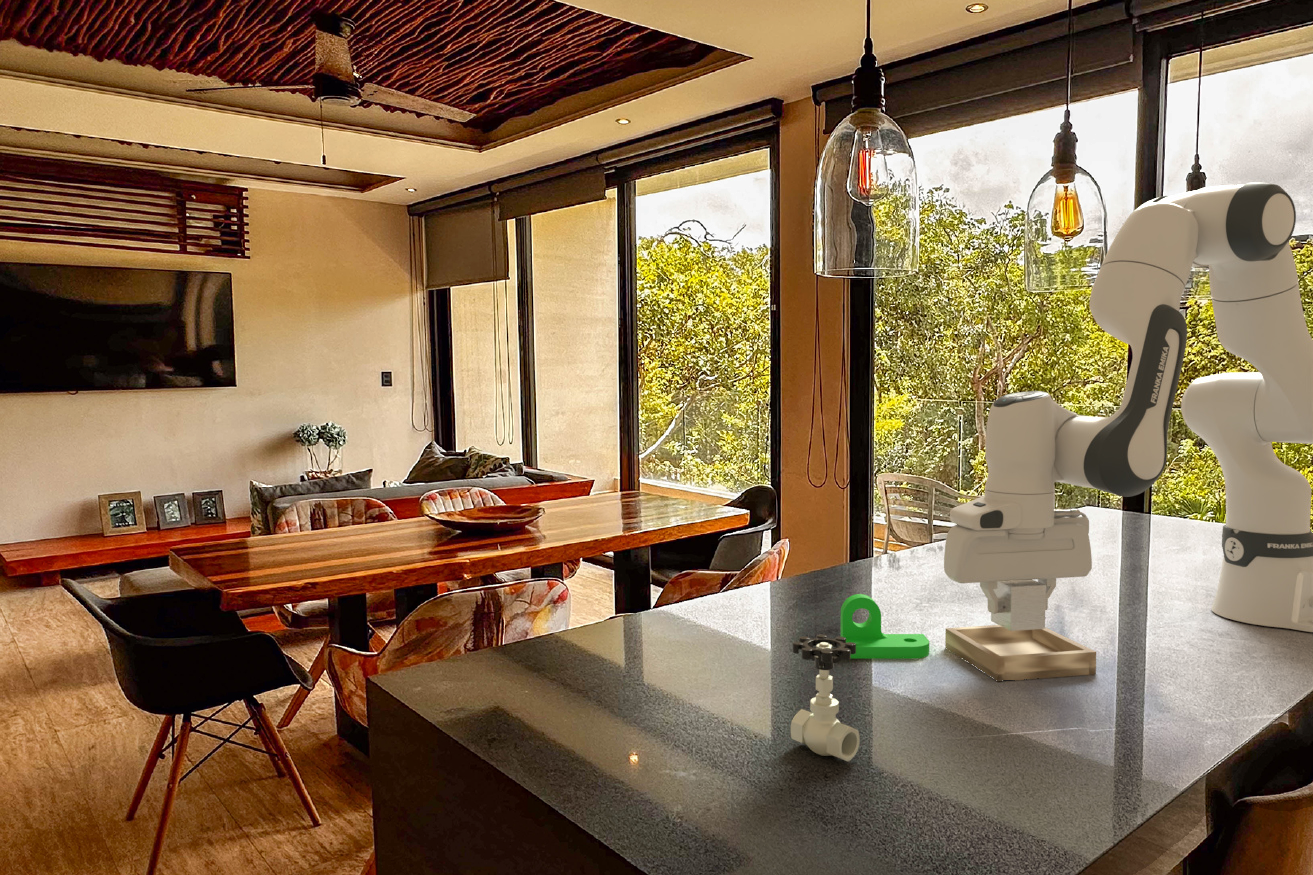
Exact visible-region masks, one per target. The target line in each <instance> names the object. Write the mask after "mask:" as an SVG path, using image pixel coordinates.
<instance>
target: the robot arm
mask: <svg viewBox="0 0 1313 875" xmlns="http://www.w3.org/2000/svg"><path fill="white" fill-rule="evenodd" d="M1296 221H1297V213H1296V206H1295V203H1294V200H1293V198H1292V197H1291V195H1290V194H1288V192H1287V191H1286V190H1285V189H1284V188H1282V186H1280V185H1279V184H1276V183H1268V182H1247V183H1245V184H1237V185H1236V184H1235V185H1234V184H1229V185H1219V186H1217V185H1216V186H1209V187H1207V186H1206V187H1202V188H1199V189H1197V190H1192V191H1187V192H1182V193H1178V194H1175V195H1163V196H1159V197H1156V198H1153V199H1151V200H1148V201H1146V202H1144V203H1143V204H1140V206H1138V207H1137V208H1136V209H1134V211H1132V212H1131V213H1130V215H1129V216H1128V217H1127V219H1125V221H1124V223H1123V224H1122V226H1121V228H1120V229H1119V230H1118V232H1117V234H1116V235H1115V237H1114V239H1113V240H1112V243H1110V244H1111V245H1110V246H1109V249H1108V251H1107V253H1106V254H1105V256H1104V259H1103V261H1102V263H1101V266H1100V268H1099V271H1098V273H1097V275H1096V278H1095V280H1094V283H1093V285H1092V289H1091V291H1090V292H1091V293H1090V297H1089V309H1090V312H1091V315H1092V317H1093V319H1094V321H1095V322H1096V324H1097V326H1099V328H1100V329H1101V330H1103V331H1104V332H1105V333H1106V334H1108V335H1110V336H1111V337H1113V338H1115V339H1116V340H1119V341H1121V342H1122V343H1125V344H1127V345H1128V346H1129V345H1130V348H1131V352H1132V359H1131V364H1130V368H1129V371H1128V372H1129V373H1128V376H1127V381H1126V384H1125V388H1124V393H1123V397H1122V401H1121V405H1120V406H1119V409H1118V410H1116V411H1115V413H1113V414H1112V415H1110V416H1108V417H1104V416H1090V415H1083V414H1078V413H1076V412H1075V411H1071V410H1069V409H1067V408H1065V407H1063V406H1062V405H1060V404H1059V403H1057V402H1056V401H1055V400H1053V398H1052V396H1051V394H1050V393H1048V392H1046V391H1041V390H1040V391H1038V390H1034V391H1033V390H1031V391H1030V390H1027V391H1021V392H1019V391H1018V392H1014V393H1009V394H1006V395H1005V394H1004V395H1002V396H1000V397H998V398H997V399H996V400H994V401H993V402H992V404H991V407H990V408H989V413H988V416H987V420H986V421H987V422H986V429H985V446H984V448H985V449H984V450H985V451H984V453H985V454H984V455H985V457H984V458H985V462H986V464H987V479H986V481H985V485H984V495H982V496H980V497H978V498H975V499H973V500H970V501H968V502H965V503H962V504H959V505H957V506H954V507H953V508H951V509H950V512H949V519H950V522H952V524H955V525H953V526H952V527H950V529H949V530H948V532H947V534H946V538H945V545H944V555H943V556H944V557H943V569H944V571H943V572H944V573H945V575H946V576H947V577H948V578H949V579H950V580H951V581H954V582H956V583H958V584H976V583H977V584H978V583H979V587H980V589H981V591H982V592H983V594H984V595H985V597H986V598H987V611H988V612H989V613H990V614H991V613H993V614H996V613H1004V608H1003V607H1004V601H1003V600H1000V599H999V598H997V596H996V594H995V592H994V590H993V589H997V582H998V581H1015V580H1037V582H1039V583H1042V584H1044V585H1046V598H1045V611H1048V608H1049V605H1048V604H1049V601H1048V600H1049V598H1050V597H1051V595H1052V593H1053V592H1054V590H1055V589H1056V586H1057V579H1064V578H1065V579H1066V578H1084V577H1087V576H1088V575H1089V574H1090V572H1091V571H1092V568H1093V561H1092V559H1093V558H1092V557H1093V556H1092V549H1091V547H1092V546H1091V540H1090V535H1089V534H1090V520H1089V518H1088V516H1087V515H1086V514H1085V513H1084V512H1081V511H1080V509H1076V508H1070V509H1056V508H1055V505H1056V501H1055V500H1056V499H1055V498H1056V496H1055V495H1056V494H1055V493H1056V488H1055V483H1056V482H1057V483H1062V484H1068V485H1072V486H1077V487H1084V488H1090V489H1094V490H1095V489H1096V490H1098V491H1102V492H1104V493H1108V494H1112V495H1116V496H1119V497H1124V498H1125V497H1126V498H1129V497H1134V496H1138V495H1140V494H1142V493H1144V492H1145V491H1146V490H1147V491H1148V490H1149V489H1150V487H1153V485H1154V484H1155V483H1156V482H1157V481H1158V480H1159V478H1160V477H1161V475H1162V473H1164V472H1163V471H1164V469H1165V467H1166V463H1167V457H1168V456H1167V455H1168V433H1169V432H1168V431H1169V426H1170V420H1171V415H1172V411H1173V407H1174V402H1175V398H1176V394H1177V389H1178V384H1179V380H1180V375H1181V373H1182V367H1183V363H1184V358H1185V352H1186V349H1187V348H1186V347H1187V341H1188V326H1187V321H1186V318H1185V316H1184V315H1183V314H1182V313H1181V312H1180V308H1181V307H1180V306H1181V300H1182V296H1183V293H1184V291H1185V288H1186V286H1187V283H1188V281H1189V278H1190V274H1191V271H1192V268H1196V267H1199V268H1201V267H1208V277H1209V278H1208V279H1209V289H1210V290H1209V291H1210V296H1211V297H1210V298H1211V303H1212V309H1213V314H1214V321H1215V328H1216V333H1217V334H1216V335H1217V339H1218V342H1219V343H1220V344H1221V346H1222V348H1224V349H1225V350H1226V351H1227V352H1229V353H1230V354H1232V355H1234V356H1237V357H1238V358H1241V359H1243V360H1245V361H1247V362H1248V363H1250V364H1251V365H1252V366H1253V367H1254V368H1256V370H1258V372H1257V371H1254V372H1253V371H1252V372H1250V371H1249V372H1245V371H1244V372H1237V371H1236V372H1223V373H1217V374H1211V375H1207V376H1201V377H1198V378H1195V379H1194V380H1192V382H1191V383H1190V384H1188V386H1187V387H1186V390H1185V391H1184V393H1183V396H1182V397H1181V398H1182V399H1181V402H1180V409H1181V411H1180V412H1181V415H1182V418H1183V420H1184V423H1185V425H1186V426H1187V427H1188V429H1190V431H1191V432H1193V433H1194V434H1196V435H1197V436H1198V437H1199V438H1200V439H1201V440H1203V441H1204V442H1205V443H1206V444H1207V446H1208V447H1209V448H1210V449H1211V451H1212V452H1213V454H1214V456H1215V457H1216V459H1217V461H1218V463H1219V466H1220V468H1221V470H1222V471H1221V472H1222V475H1223V479H1224V487H1225V488H1224V490H1225V511H1226V512H1225V525H1223V526H1222V534H1221V548H1222V554H1223V558H1222V559H1223V560H1222V564H1221V570H1220V575H1219V580H1218V585H1217V590H1216V594H1215V596H1214V600H1213V602H1212V606H1211V608H1210V610H1211V611H1212V612H1213V613H1214V614H1216V615H1218V616H1220V617H1222V618H1225V619H1230V620H1233V621H1237V622H1241V623H1245V624H1250V625H1256V626H1257V625H1258V626H1262V627H1263V626H1264V627H1272V628H1273V627H1274V628H1280V629H1282V628H1283V629H1291V630H1296V631H1302V632H1308V633H1313V532H1312V531H1311V509H1312V508H1311V507H1312V487H1311V484H1310V483H1309V480H1308V479H1307V478H1306V477H1305V476H1304V474H1302V473H1301V472H1300V471H1298V469H1295V468H1293V467H1291V466H1289V465H1288V464H1285V463H1284V462H1282V461H1281V460H1280V459H1279V458H1278V456H1277V455H1276V453H1275V451H1274V449H1273V444H1272V443H1287V444H1288V443H1289V444H1307V445H1308V444H1309V445H1313V338H1312V336H1311V334H1310V332H1309V330H1308V326H1307V323H1306V319H1305V318H1306V317H1305V314H1304V313H1305V312H1304V310H1303V305H1302V298H1301V293H1300V292H1301V291H1300V286H1299V277H1298V273H1297V268H1296V262H1295V258H1294V255H1293V251H1292V247H1291V245H1290V243H1289V241H1290V240H1291V238H1292V236H1293V233H1294V230H1295V227H1296V223H1297V222H1296Z"/></svg>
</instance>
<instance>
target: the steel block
mask: <svg viewBox="0 0 1313 875" xmlns="http://www.w3.org/2000/svg"><path fill="white" fill-rule="evenodd" d="M993 590H994V592H995V594H996V596H997V598H999V599H1000V600H1003V601H1004V607H1003V608H1004V613H996V614H993V613H991V612H990V621H991V622H993V623H994V624H995V625H1000V626H1002V627H1004V628H1006V629H1008V630H1010V631H1019V630H1034V629H1045V627H1046V610H1045V598H1046V585H1044V584H1042V583H1039V582H1038V580H1037V581H1036V580H1035V579H1033V580H1015V581H998V582H997V589H993Z"/></svg>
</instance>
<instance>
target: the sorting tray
mask: <svg viewBox="0 0 1313 875" xmlns="http://www.w3.org/2000/svg"><path fill="white" fill-rule="evenodd" d="M944 638H945V643H944V644H945V645H944V646H945V649H946V648H947V649H948V650H947V649H946V650H947V651H949V650H950V651H951V652H950V651H949V652H950V653H951V654H953V653H955V654H956V655H957V656H956V655H955V654H954V655H955V656H956V657H958V656H959V657H960V658H959V657H958V658H959V659H961V658H963V659H964V660H966V661H968V662H969V663H970V664H973V665H974V666H976V667H977V668H978V669H980V670H982V671H983V672H985V673H986V674H987V675H989V676H991V677H993V678H994V679H995V680H997V681H1002V680H1015V681H1025V680H1026V679H1027V680H1037V678H1039V679H1051V678H1062V677H1063V678H1064V677H1075V676H1076V677H1077V676H1089V675H1090V676H1091V675H1097V674H1096V673H1097V651H1095V650H1093V649H1091V648H1090V647H1087V646H1085V645H1083V644H1081V643H1079V642H1077V641H1075V640H1073V639H1071V638H1068V637H1067V636H1064V635H1062V634H1060V633H1058V632H1056V631H1053V630H1052V629H1049V628H1047V627H1046V626H1045V629H1034V630H1019V631H1010V630H1008V629H1006V628H1004V627H1002V626H1000V625H998V624H990V625H987V624H986V625H976V626H975V625H973V626H963V627H962V626H961V627H960V626H959V627H946V628H945V637H944ZM964 660H963V661H964ZM970 664H969V665H970ZM978 669H977V670H978ZM983 672H982V673H983ZM986 674H985V675H986ZM987 675H986V676H987ZM989 676H988V677H989ZM1024 679H1025V680H1024ZM1039 679H1038V680H1039ZM995 680H994V681H995ZM997 681H996V682H997ZM1002 682H1003V681H1002Z"/></svg>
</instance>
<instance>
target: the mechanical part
mask: <svg viewBox="0 0 1313 875" xmlns="http://www.w3.org/2000/svg"><path fill="white" fill-rule="evenodd" d="M860 609H863V610H867V612H868V618H867V619H866V620H865V621H864V622H862V623H858V622H855V621H854V620H853V615H854V613H855V612H856V611H857V610H860ZM840 637H845V638H846V643H847V642H853V643H855V644H856V653H855V654H851V659H866V660H867V659H868V660H869V659H870V660H871V659H874V660H875V659H879V660H880V659H882V660H883V659H885V660H886V659H887V660H889V659H893V660H894V659H895V660H896V659H898V660H901V659H903V660H905V659H907V660H910V659H911V660H912V659H913V660H914V659H917V660H918V659H923V658H926V657H928V656H929V655H930V640H929V638H927V636H926V635H925V634H924V633H884V632H882V612H881V610H880V607H879V606H878V604H877V603H876V601H875V600H874V599H873V598H872V597H871V596H869V595H867V594H862V593H857V594H855V593H854V594H853V595H850V596H849V597H847V598H845V600H844V601H843V603H842V605H841V607H840Z"/></svg>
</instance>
